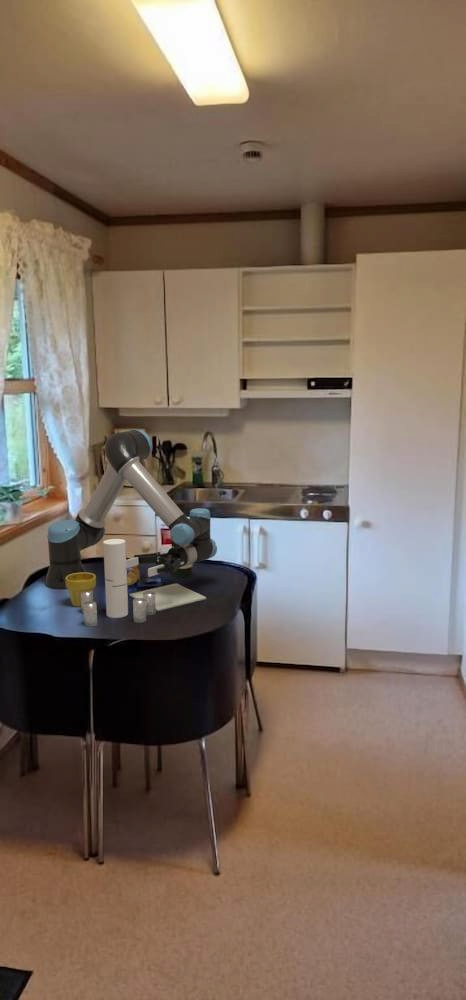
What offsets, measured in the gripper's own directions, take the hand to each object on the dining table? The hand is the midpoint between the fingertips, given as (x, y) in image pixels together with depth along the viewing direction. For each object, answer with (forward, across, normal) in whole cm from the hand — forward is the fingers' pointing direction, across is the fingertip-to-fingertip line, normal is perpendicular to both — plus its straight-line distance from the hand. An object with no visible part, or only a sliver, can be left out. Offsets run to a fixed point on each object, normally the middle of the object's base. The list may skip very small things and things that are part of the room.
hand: (135, 568), depth 228 cm
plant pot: (+10, +18, -14) cm, 25 cm away
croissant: (-18, +28, -14) cm, 36 cm away
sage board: (-14, 0, -14) cm, 20 cm away
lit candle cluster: (+9, 0, -14) cm, 17 cm away
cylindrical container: (+8, 0, -14) cm, 16 cm away
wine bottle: (-35, +15, -14) cm, 41 cm away
